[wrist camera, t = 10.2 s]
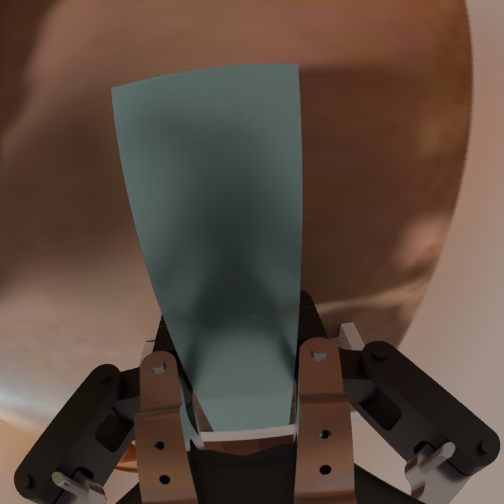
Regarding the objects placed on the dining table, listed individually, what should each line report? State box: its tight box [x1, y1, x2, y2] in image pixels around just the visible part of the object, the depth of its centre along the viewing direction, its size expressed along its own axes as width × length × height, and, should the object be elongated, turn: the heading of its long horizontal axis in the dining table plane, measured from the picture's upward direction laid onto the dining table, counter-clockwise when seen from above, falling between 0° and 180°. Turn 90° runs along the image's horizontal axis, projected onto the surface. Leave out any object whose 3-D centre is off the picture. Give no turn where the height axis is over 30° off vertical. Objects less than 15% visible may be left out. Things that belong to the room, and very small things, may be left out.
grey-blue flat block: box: [111, 63, 361, 441], centre depth 10 cm, size 14×11×5 cm
